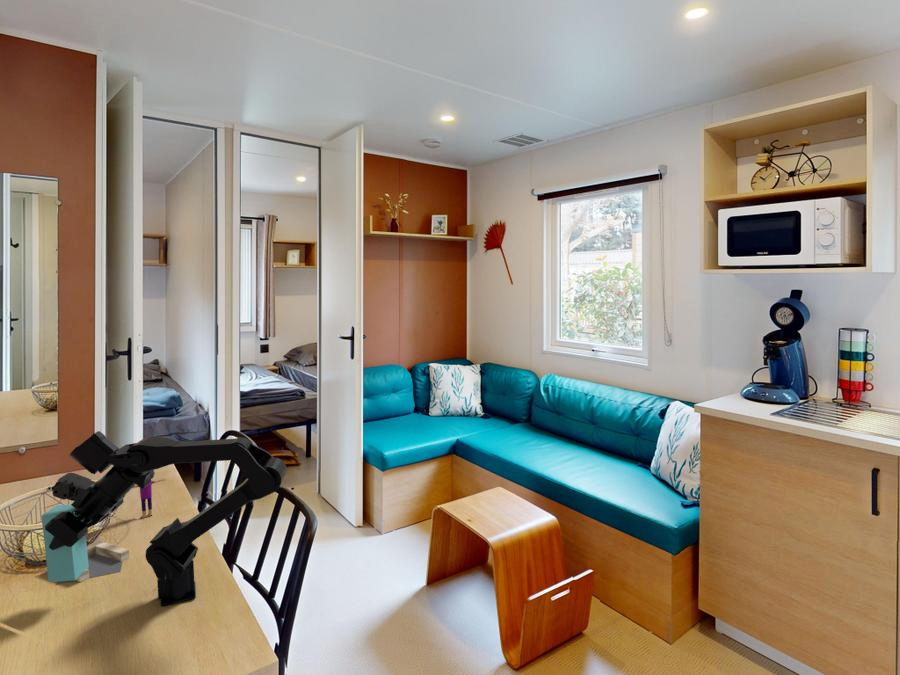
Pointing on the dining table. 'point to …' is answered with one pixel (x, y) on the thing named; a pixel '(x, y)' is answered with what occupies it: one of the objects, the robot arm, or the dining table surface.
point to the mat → (100, 567)
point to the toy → (147, 495)
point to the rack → (104, 554)
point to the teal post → (64, 551)
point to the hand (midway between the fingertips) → (59, 541)
